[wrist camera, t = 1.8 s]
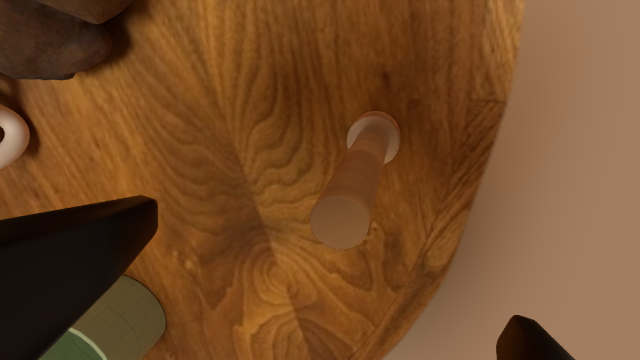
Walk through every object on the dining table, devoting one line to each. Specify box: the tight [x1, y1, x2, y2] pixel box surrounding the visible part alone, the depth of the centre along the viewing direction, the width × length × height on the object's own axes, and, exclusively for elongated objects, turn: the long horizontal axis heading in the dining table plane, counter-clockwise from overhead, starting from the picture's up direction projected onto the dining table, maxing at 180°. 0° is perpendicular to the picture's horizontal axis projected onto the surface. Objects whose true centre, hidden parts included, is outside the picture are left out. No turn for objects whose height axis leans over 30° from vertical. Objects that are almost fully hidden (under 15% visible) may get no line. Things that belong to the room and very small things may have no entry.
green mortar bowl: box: [39, 275, 166, 360], centre depth 29 cm, size 8×8×6 cm
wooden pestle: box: [310, 111, 400, 249], centre depth 15 cm, size 3×3×12 cm
